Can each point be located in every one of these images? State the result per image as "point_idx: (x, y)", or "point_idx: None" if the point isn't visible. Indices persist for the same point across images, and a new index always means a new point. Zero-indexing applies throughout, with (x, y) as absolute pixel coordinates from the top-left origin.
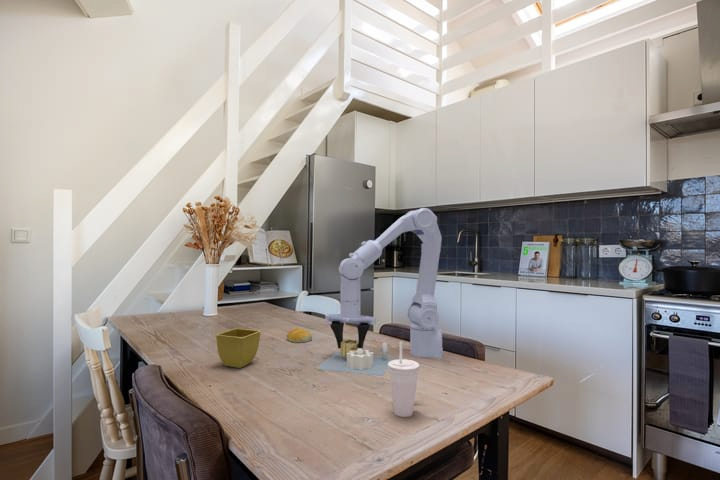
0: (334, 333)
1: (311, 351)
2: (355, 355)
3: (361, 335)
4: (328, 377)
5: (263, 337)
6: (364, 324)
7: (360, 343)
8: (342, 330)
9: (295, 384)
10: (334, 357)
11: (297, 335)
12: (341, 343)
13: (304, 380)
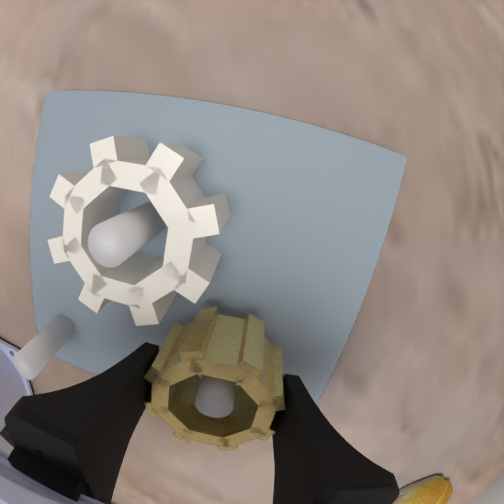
0: (344, 442)
1: (402, 434)
2: (143, 170)
3: (88, 389)
4: (319, 93)
5: (489, 472)
6: (40, 466)
7: (126, 361)
8: (277, 492)
9: (438, 28)
10: (315, 352)
11: (433, 494)
12: (277, 389)
13: (421, 64)
